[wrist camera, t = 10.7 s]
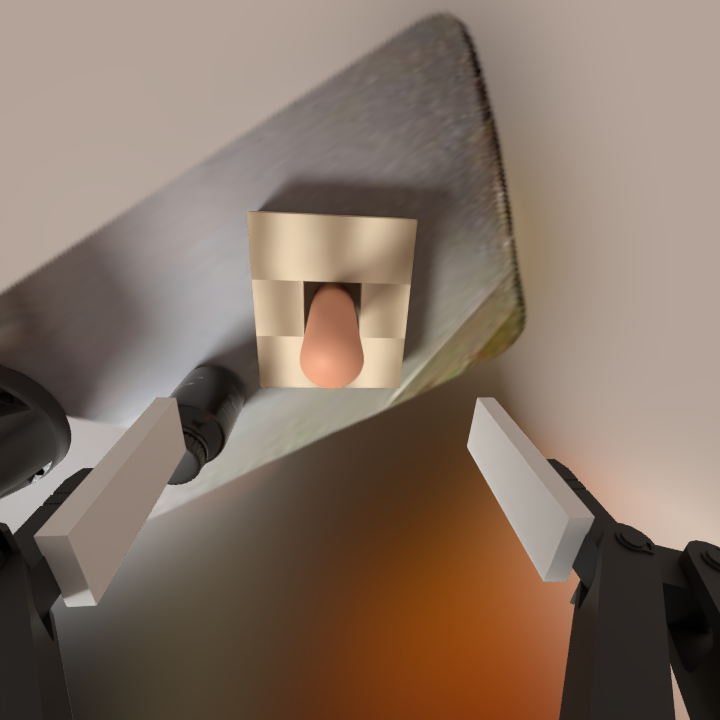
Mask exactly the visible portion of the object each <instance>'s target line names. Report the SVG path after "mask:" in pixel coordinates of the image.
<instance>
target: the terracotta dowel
mask: <svg viewBox="0 0 720 720" xmlns="http://www.w3.org/2000/svg"><path fill="white" fill-rule="evenodd" d="M363 365H364V354H363V349H362V344H361V339H360V334H359V329H358V324H357V319H356V314H355V309H354V303H353V298H352V295H351V293H350V291H349V290H348V289H347V288H346V287H345V286H344V285H342V284H340V283H337V282H328V283H325V284H322V285H321V286H320V287H318V288H317V290H316V291H315V293H314V295H313V299H312V303H311V308H310V312H309V317H308V321H307V326H306V330H305V335H304V339H303V343H302V348H301V352H300V366H301V369H302V371H303V373H304V375H305V376H306V377H307V378H308V379H309V380H310V381H311V382H312V383H314V384H316V385H318V386H320V387H323V388H331V389H332V388H340V387H344V386H346V385H348V384H350V383H351V382H353V381H354V380H355V379H356V378H357V377H358V376H359V374H360V373H361V371H362V368H363Z"/></svg>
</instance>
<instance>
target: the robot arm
mask: <svg viewBox="0 0 720 720" xmlns="http://www.w3.org/2000/svg"><path fill="white" fill-rule="evenodd" d="M70 443H71V430H70V425H69V422H68V420H67V417H66V415H65V413H64V412H63V410H62V409H61V407H60V406H59V404H58V403H57V402H56V401H55V400H54V398H53V397H52V396H51V395H50V394H49V393H48V392H46V391H45V390H44V389H43V388H42V387H40V386H39V385H38V384H36V383H35V382H33V381H32V380H30V379H29V378H27V377H25V376H23V375H21V374H19V373H17V372H15V371H13V370H10V369H8V368H5V367H2V366H0V499H2V498H4V497H6V496H8V495H10V494H12V493H14V492H16V491H18V490H20V489H22V488H24V487H26V486H28V485H30V484H32V483H34V482H36V481H38V480H39V479H41V478H42V477H44V476H45V475H46V474H48V473H49V472H50V471H51V470H52V469H53V468H54V467H55V466H56V465H57V464H58V463H59V462H60V461H62V459H63V458H64V457H65V456H66V454H67V452H68V450H69V447H70ZM467 447H468V449H469V451H470V453H471V455H472V456H473V458H474V460H475V462H476V463H477V465H478V467H479V469H480V470H481V472H482V474H483V476H484V478H485V479H486V481H487V483H488V484H489V486H490V488H491V490H492V492H493V493H494V495H495V497H496V499H497V501H498V502H499V504H500V505H501V508H502V509H503V511H504V513H505V515H506V516H507V518H508V520H509V522H510V523H511V525H512V527H513V529H514V530H515V532H516V534H517V536H518V538H519V539H520V541H521V543H522V545H523V546H524V548H525V550H526V552H527V553H528V555H529V557H530V559H531V560H532V562H533V564H534V566H535V567H536V569H537V571H538V572H539V575H540V576H541V578H542V580H543V582H552V581H567V579H568V577H569V574H570V572H571V570H572V568H573V569H574V570H575V572H576V573H577V575H578V576H579V578H580V579H581V580H580V582H579V584H578V586H577V588H576V590H575V593H574V595H573V597H572V599H571V601H570V603H572V604H575V607H574V614H573V621H572V628H571V636H570V643H569V652H568V658H567V666H566V672H565V680H564V687H563V694H562V702H561V709H560V716H559V720H675V710H674V700H673V689H672V679H671V668H670V664H671V667H672V670H673V673H674V675H675V678H676V681H677V684H678V687H679V689H680V692H681V695H682V698H683V701H684V704H685V706H686V709H687V712H688V715H689V718H690V720H720V548H719V547H718V546H715V545H712V544H710V543H707V542H703V541H697V540H695V541H691V542H689V543H688V545H687V546H686V548H685V549H684V551H679V550H674V549H670V548H666V547H662V546H658V545H655V544H654V543H653V542H652V541H651V540H650V539H649V538H648V537H647V536H646V535H644V534H643V533H642V532H640V531H638V530H636V529H635V528H633V527H631V526H628V525H625V524H622V523H617V522H616V521H615V520H614V519H613V518H612V516H611V515H610V514H609V513H608V512H607V511H606V510H605V509H604V508H603V507H602V505H601V504H600V503H599V502H598V501H597V500H596V499H595V498H594V497H593V495H592V494H591V493H590V492H589V491H588V490H586V488H585V487H584V486H583V484H582V483H581V482H580V481H578V479H577V478H576V477H575V475H574V474H573V473H572V472H571V471H570V470H569V469H568V468H567V467H565V466H564V465H562V464H561V463H560V462H558V461H557V460H555V459H545V458H544V457H543V455H542V454H541V453H540V452H539V451H538V449H537V448H536V447H535V446H534V445H533V443H532V442H531V441H530V440H529V439H528V438H527V436H526V435H525V434H524V433H523V432H522V431H521V429H520V428H519V427H518V426H517V425H516V423H515V422H514V421H513V420H512V419H511V418H510V416H509V415H508V414H507V413H506V412H505V410H504V409H503V408H502V407H501V406H500V405H499V403H498V402H497V401H496V400H495V399H494V398H477V403H476V407H475V412H474V417H473V421H472V426H471V431H470V435H469V440H468V445H467ZM185 452H186V447H185V442H184V437H183V432H182V426H181V421H180V416H179V411H178V406H177V401H176V398H156V399H155V400H154V401H153V402H152V404H151V405H150V406H149V407H148V408H147V409H146V410H145V411H144V413H143V414H142V415H141V416H140V417H139V418H138V419H137V420H136V422H135V423H134V424H133V425H132V426H131V427H130V428H129V429H128V431H127V432H126V433H125V434H124V435H123V436H122V437H121V439H120V440H119V441H118V442H117V443H116V444H115V445H114V447H112V449H111V450H110V451H109V452H108V453H107V454H106V455H105V456H104V458H103V459H102V460H101V461H100V462H99V463H98V464H97V466H96V467H95V468H83V469H81V470H80V471H78V472H77V473H75V474H73V475H72V476H70V477H69V478H67V479H66V480H65V481H64V482H63V483H62V484H61V485H60V486H59V487H58V488H57V489H56V490H55V491H54V493H53V495H50V497H49V498H48V499H47V500H46V501H45V502H44V503H43V506H40V507H39V508H38V509H37V510H36V511H35V512H34V513H33V514H32V515H31V516H30V517H29V519H28V520H27V521H26V522H25V523H24V524H23V525H22V526H21V527H20V528H19V529H18V530H17V531H16V532H15V533H14V535H12V533H11V531H10V529H9V527H8V526H7V524H5V523H0V720H73V716H72V711H71V706H70V700H69V695H68V689H67V684H66V679H65V673H64V668H63V663H62V657H61V652H60V647H59V641H58V636H57V630H56V625H55V619H54V615H53V613H52V611H51V609H50V608H51V606H52V605H53V604H54V602H55V601H56V599H57V598H58V597H59V595H60V594H61V595H62V597H63V599H64V602H65V604H66V606H67V607H75V606H94V605H97V604H98V602H99V600H100V599H101V597H102V595H103V593H104V592H105V590H106V588H107V587H108V585H109V583H110V581H111V580H112V578H113V576H114V574H115V573H116V571H117V569H118V568H119V566H120V564H121V562H122V561H123V559H124V557H125V556H126V554H127V552H128V550H129V549H130V547H131V545H132V543H133V542H134V540H135V538H136V537H137V535H138V533H139V531H140V530H141V528H142V526H143V524H144V523H145V521H146V519H147V518H148V516H149V514H150V512H151V511H152V509H153V507H154V505H155V504H156V502H157V500H158V499H159V497H160V495H161V493H162V492H163V490H164V488H165V486H166V485H167V483H168V481H169V480H170V478H171V476H172V474H173V473H174V471H175V469H176V467H177V466H178V464H179V462H180V461H181V459H182V457H183V455H184V454H185Z"/></svg>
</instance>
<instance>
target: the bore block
mask: <svg viewBox="0 0 720 720" xmlns="http://www.w3.org/2000/svg"><path fill="white" fill-rule="evenodd" d="M417 221H418V220H414V219H409V218H395V217H374V216H354V215H334V214H314V213H293V212H273V211H249V212H247V224H248V236H249V249H250V261H251V274H252V287H253V299H254V312H255V325H256V337H257V350H258V363H259V375H260V387H320V386H318V385H316V384H314V383H312V382H311V381H310V380H309V379H308V378H307V377H306V376H305V375H304V373H303V371H302V369H301V366H300V352H301V348H302V343H303V339H304V335H305V330H306V326H307V321H308V317H309V312H310V308H311V303H312V299H313V295H314V293H315V291H316V290H317V288H318V287H320V286H321V285H322V284H325V283H328V282H337V283H340V284H342V285H344V286H345V287H346V288H347V289H348V290H349V291H350V293H351V295H352V298H353V303H354V309H355V314H356V319H357V324H358V329H359V334H360V339H361V344H362V349H363V354H364V365H363V368H362V371H361V373H360V374H359V376H358V377H357V378H356V379H355V380H354V381H353V382H351V383H350V384H348V385H346V386H344V388H400V380H401V370H402V361H403V352H404V342H405V333H406V324H407V314H408V305H409V296H410V286H411V277H412V268H413V258H414V249H415V240H416V230H417Z"/></svg>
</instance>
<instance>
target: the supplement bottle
mask: <svg viewBox="0 0 720 720" xmlns="http://www.w3.org/2000/svg"><path fill="white" fill-rule="evenodd" d="M168 398H176V401H177V406H178V411H179V416H180V421H181V426H182V432H183V437H184V442H185V447H186V452H185V454H184V455H183V457H182V459H181V461H180V462H179V464H178V466H177V467H176V469H175V471H174V473H173V474H172V476H171V478H170V480H169V481H168V483H167V484H169V485H178V484H183V483H187V482H189V481H192V479H194V478H196V476H197V475H198V474H199V472H200V470H201V468H202V467H203V466H204V465H205V464H206V463H208V462H210V461H212V460H214V459H215V458H216V457H217V456H218V455H219V454H220V453H221V452H222V450H223V449H224V447H225V445H226V443H227V440H228V438H229V436H230V434H231V431H232V429H233V427H234V425H235V423H236V420H237V418H238V416H239V414H240V412H241V409H242V407H243V404H244V401H245V389H244V386H243V384H242V382H241V381H240V379H239V378H238V377H237V376H236V375H235V374H234V373H232V372H231V371H229V370H227V369H225V368H222V367H218V366H203V367H199V368H197V369H195V370H193V371H192V372H190V373H189V374H188V375H187V376H186V377H185V378H184V380H183V381H182V382H181V383H180V384H179V386H178V387H177V388H176V389H175V390H174V391H173V393H172V394H171V395H170V396H169V397H168Z"/></svg>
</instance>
